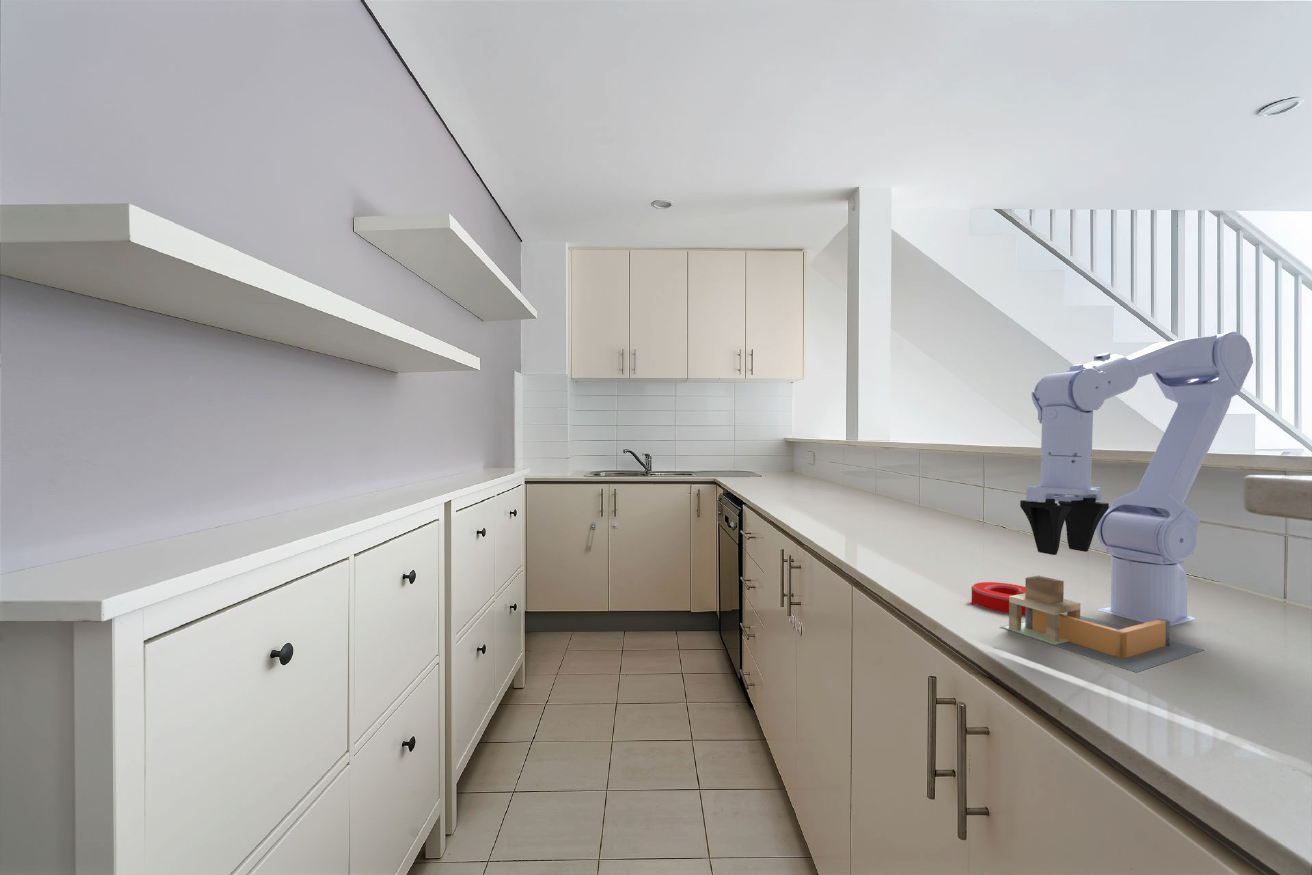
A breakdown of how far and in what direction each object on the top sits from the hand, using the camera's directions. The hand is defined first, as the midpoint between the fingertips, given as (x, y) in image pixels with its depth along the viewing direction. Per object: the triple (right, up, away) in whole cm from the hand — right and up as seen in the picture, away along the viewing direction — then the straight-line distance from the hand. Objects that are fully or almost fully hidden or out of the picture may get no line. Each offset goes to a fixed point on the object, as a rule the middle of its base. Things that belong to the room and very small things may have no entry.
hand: (1063, 551), depth 75 cm
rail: (0, -10, -6) cm, 11 cm away
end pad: (-6, -10, -5) cm, 13 cm away
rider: (-6, -10, -5) cm, 12 cm away
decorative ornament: (-3, -11, +7) cm, 13 cm away
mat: (-1, -10, -6) cm, 12 cm away
